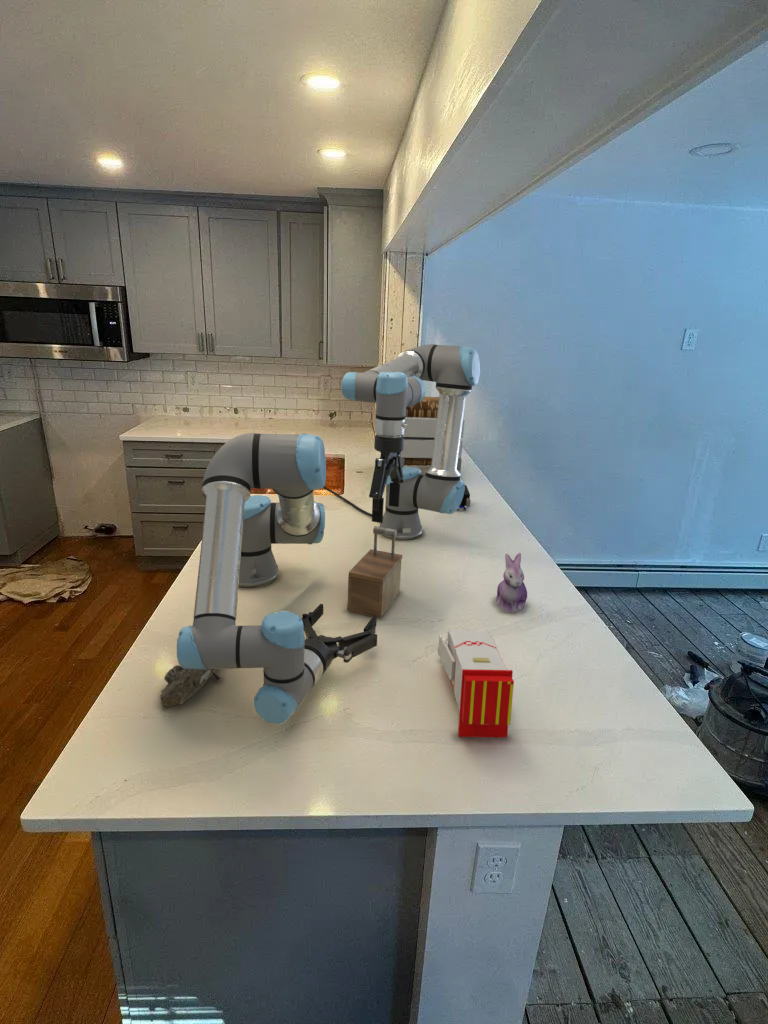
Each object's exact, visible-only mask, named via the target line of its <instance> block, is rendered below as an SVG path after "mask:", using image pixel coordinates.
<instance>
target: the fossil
mask: <svg viewBox="0 0 768 1024" xmlns="http://www.w3.org/2000/svg"><path fill="white" fill-rule="evenodd" d="M216 670H217V669H207V670H204V669H185V668H182V667H181V666H180V665H179V664H177V665H174V666H173V667H172V668H171V669H170V670H168V672H166V673H165V675H164V678H163V679H164V681H165V682H166V683H167V684H166V685H165V687H164V688H162V689H161V690H160V694H159V700H160V703H161V705H165V706H167V707H173V706H178V705H183V704H184V703H185V702H186V701H187V700H188V699H190V697H192V696H193V695H194V694H195V693H196V692H197V691H199V690H200V689H201V688H202V687H203V686H204V685H205V684H206V682H207V681H208V679H209V678H210V677H212V675H213V677H215V678H216V680H220V679H221V677H219V675H218V674H216V672H215V671H216Z"/></svg>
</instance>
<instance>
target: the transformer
mask: <svg viewBox="0 0 768 1024" xmlns="http://www.w3.org/2000/svg"><path fill="white" fill-rule="evenodd" d="M438 403H439V396H424V398H423V400H422V401H421V402H419V403H418V404H416V405H413V406H409V407H406V414H405V423H406V424H407V427H405V429H404V434H403V435H402V436H403V437H404V449H403V451H401V462H402V468H403V467H405V466H406V467H417V466H418V467H431V463H432V455H433V446H434V438H435V429H436V420H437V412H438ZM464 429H465V419H464V418H463V424H462V432H461V440H460V448H459V455H458V463H457V470H458V472H459V473H460V474H461V472H462V461H463V460H462V453H463V442H464V441H463V440H462V439H463V438H464V431H465V430H464ZM461 475H462V474H461Z"/></svg>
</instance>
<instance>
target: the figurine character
mask: <svg viewBox="0 0 768 1024" xmlns="http://www.w3.org/2000/svg"><path fill="white" fill-rule="evenodd" d="M466 507H468V508H470V507H471V493H470V491H469V488H468V486H467V485H466V484H465V491H464V495H463V498H462V501H461V504H460V506H459V508H458V509H457V510H456V511H459V510H460V509H463V511H465V512H466V511H467V508H466Z"/></svg>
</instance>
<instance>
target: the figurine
mask: <svg viewBox="0 0 768 1024" xmlns="http://www.w3.org/2000/svg"><path fill="white" fill-rule="evenodd" d="M511 557H512V556H511V555H509V553H505V555H504V559H505V560H504V561H505V569H504V571H503V580H502V581H500V582H499V583H498V585H497V589H496V597H495V603H496V606H497V607H499V609H500V610H501V611H502V612H505V613H512V614H513V613H517V612H519V611H522V610H523V609H524V608H525V605H526V602H527V599H528V590H527V586H526V584H525V582H524V580H525V574H524V571H523V569H522V567H521V562H522V561H521V560H522V553H521V552H518V553H516V554H515V557H514V559H512V558H511Z"/></svg>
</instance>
